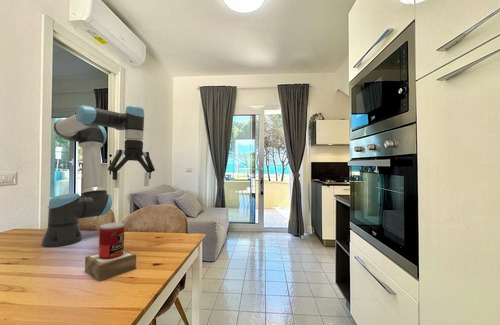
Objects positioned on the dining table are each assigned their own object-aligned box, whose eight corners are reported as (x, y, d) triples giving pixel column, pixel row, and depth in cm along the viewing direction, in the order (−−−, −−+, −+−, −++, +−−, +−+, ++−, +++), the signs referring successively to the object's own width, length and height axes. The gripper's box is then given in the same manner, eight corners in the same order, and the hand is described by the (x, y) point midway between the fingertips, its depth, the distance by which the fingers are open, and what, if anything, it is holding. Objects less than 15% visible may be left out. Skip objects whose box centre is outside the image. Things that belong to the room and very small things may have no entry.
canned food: (112, 260, 77) (113, 228, 78) (92, 258, 79) (94, 226, 79) (128, 252, 85) (129, 223, 85) (110, 250, 87) (111, 221, 87)
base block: (84, 271, 80) (85, 256, 81) (120, 260, 90) (120, 247, 90) (99, 281, 73) (100, 265, 74) (135, 268, 83) (136, 254, 83)
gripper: (108, 135, 91) (106, 188, 90) (163, 142, 111) (161, 186, 110) (100, 137, 95) (97, 187, 94) (154, 143, 116) (153, 185, 115)
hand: (132, 186), depth 102 cm, fingers open, 13 cm apart
